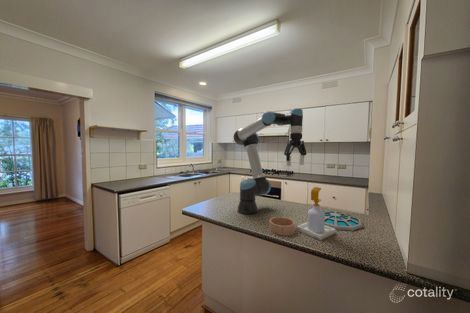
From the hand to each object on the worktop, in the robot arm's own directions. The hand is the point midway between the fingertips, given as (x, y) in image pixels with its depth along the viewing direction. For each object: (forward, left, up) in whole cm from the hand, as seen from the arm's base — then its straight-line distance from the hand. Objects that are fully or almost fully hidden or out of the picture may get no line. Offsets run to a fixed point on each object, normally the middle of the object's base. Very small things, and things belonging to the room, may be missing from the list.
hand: (295, 165), depth 125 cm
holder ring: (+5, -18, -37) cm, 41 cm away
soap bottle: (+18, -4, -36) cm, 40 cm away
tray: (+18, -4, -37) cm, 41 cm away
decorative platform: (+16, +22, -37) cm, 46 cm away
